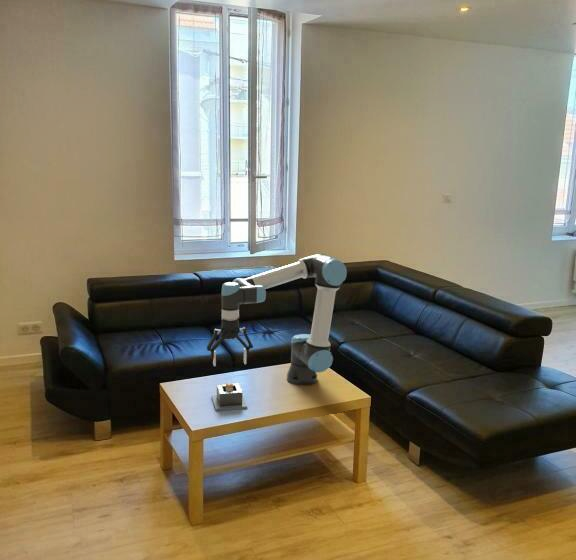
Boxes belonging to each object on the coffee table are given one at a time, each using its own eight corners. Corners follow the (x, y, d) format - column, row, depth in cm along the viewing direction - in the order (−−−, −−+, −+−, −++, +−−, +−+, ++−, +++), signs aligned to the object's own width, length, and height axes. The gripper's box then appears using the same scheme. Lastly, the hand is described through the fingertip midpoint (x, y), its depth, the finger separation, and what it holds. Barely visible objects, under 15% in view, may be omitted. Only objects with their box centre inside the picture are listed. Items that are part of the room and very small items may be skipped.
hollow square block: (238, 395, 265) (238, 383, 264) (242, 404, 256) (242, 392, 254) (216, 397, 263) (216, 384, 261) (219, 406, 253) (219, 393, 252)
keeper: (241, 395, 268) (242, 377, 266) (247, 408, 255) (247, 389, 253) (211, 397, 264) (211, 379, 262) (215, 411, 251) (215, 391, 249)
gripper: (256, 314, 257) (255, 359, 262) (200, 316, 251) (200, 362, 256) (260, 319, 250) (259, 365, 255) (202, 321, 244) (202, 369, 249)
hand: (229, 364), depth 255 cm, fingers open, 13 cm apart
